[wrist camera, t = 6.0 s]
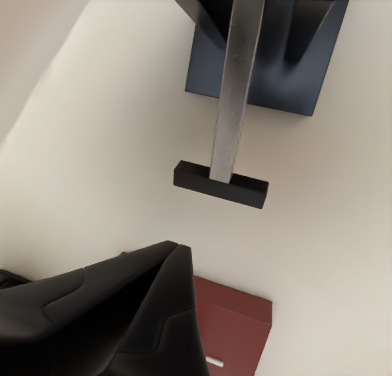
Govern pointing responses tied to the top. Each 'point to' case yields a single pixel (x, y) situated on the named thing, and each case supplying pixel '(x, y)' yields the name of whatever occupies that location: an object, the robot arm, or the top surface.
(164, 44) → the top surface
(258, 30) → the lever
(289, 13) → the lever bracket
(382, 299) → the top surface
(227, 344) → the dial panel
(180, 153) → the top surface
